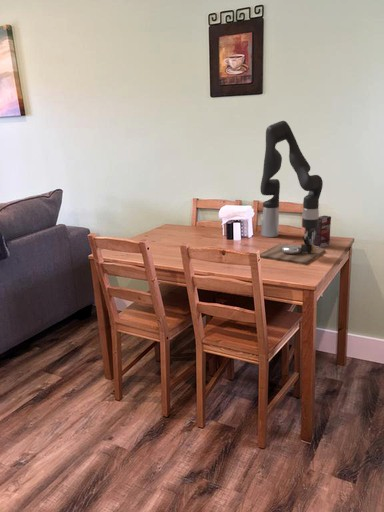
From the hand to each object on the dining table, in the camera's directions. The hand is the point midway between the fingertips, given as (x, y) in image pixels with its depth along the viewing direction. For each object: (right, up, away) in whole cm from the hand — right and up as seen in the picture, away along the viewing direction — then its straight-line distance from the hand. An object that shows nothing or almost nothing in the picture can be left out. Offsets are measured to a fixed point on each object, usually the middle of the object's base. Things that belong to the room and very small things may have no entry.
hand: (309, 252), depth 209 cm
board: (-7, -1, +6) cm, 9 cm away
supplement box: (+12, +3, +19) cm, 23 cm away
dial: (-4, 0, +5) cm, 7 cm away
